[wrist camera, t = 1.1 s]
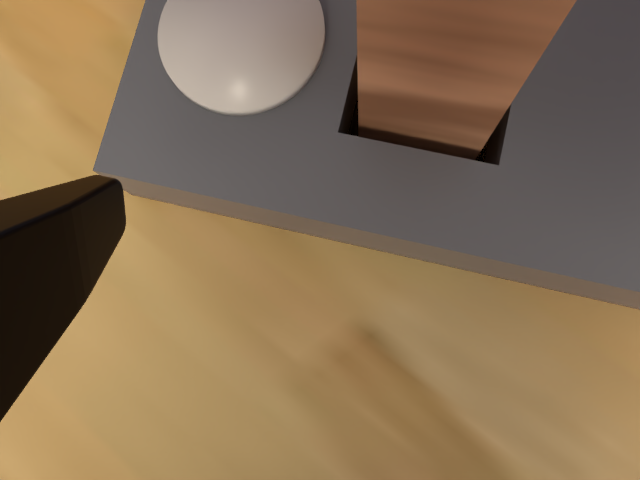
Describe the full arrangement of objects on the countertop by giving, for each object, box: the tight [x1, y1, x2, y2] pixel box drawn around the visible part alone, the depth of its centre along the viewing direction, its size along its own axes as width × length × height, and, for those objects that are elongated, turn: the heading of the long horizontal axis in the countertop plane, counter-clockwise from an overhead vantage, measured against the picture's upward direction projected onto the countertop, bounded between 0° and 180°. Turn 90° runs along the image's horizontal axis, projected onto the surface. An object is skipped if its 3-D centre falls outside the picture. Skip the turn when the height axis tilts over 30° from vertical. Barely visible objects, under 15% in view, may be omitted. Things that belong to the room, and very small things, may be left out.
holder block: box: [93, 0, 640, 309], centre depth 21 cm, size 12×22×4 cm, turn 77°
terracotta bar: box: [356, 0, 577, 160], centre depth 17 cm, size 4×4×13 cm
